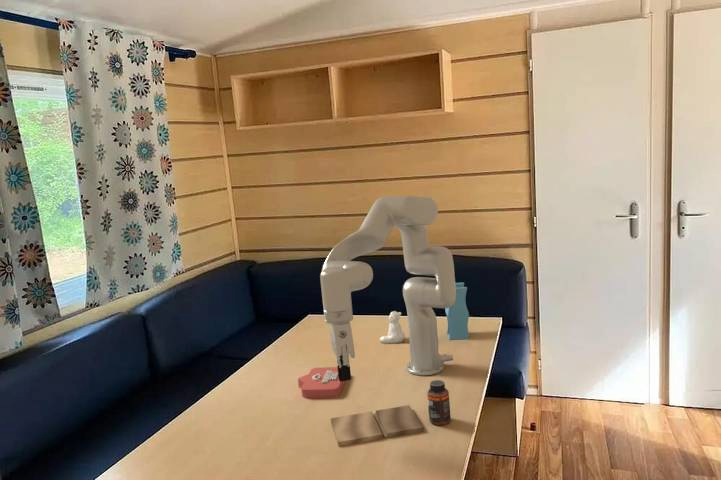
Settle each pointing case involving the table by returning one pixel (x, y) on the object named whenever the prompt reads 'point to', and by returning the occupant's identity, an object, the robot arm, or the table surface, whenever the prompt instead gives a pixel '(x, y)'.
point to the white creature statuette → (393, 330)
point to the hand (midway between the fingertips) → (344, 379)
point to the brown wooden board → (397, 421)
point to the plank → (356, 428)
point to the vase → (458, 315)
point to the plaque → (321, 383)
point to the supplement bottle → (438, 403)
